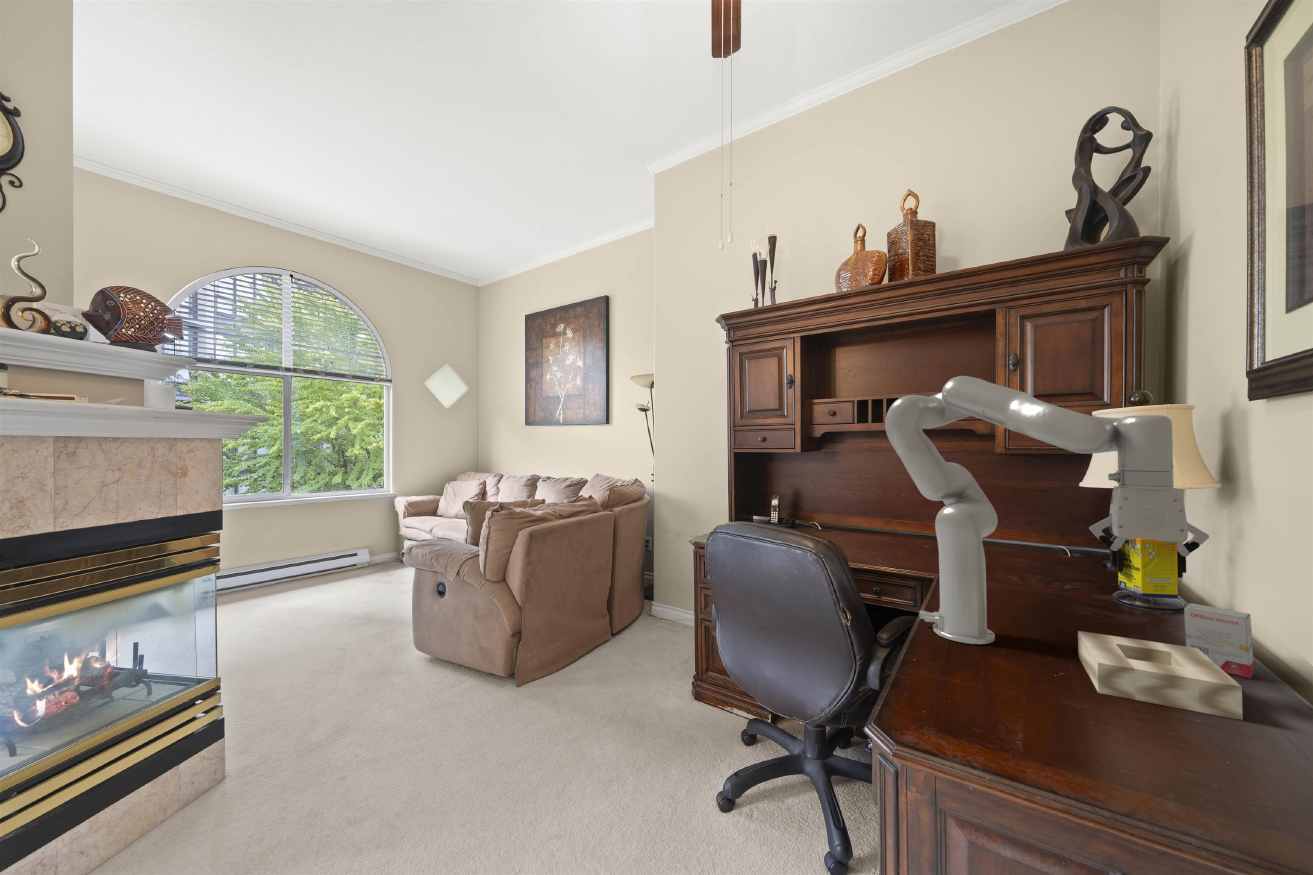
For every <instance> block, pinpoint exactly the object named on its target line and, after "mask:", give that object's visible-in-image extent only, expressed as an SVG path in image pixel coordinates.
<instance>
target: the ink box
mask: <svg viewBox="0 0 1313 875" xmlns="http://www.w3.org/2000/svg"><path fill="white" fill-rule="evenodd" d="M1183 612H1184V613H1183V614H1184V630H1185V646H1186V647H1193V648H1198V649H1199V650H1200V651H1201V652H1202V653H1204V654H1205V655H1206V656H1207V657H1208V658H1209V659H1210V660H1212V661H1213V662H1214V663H1215V664H1216V665H1217V666H1219V667H1220V668H1221V669H1222V670H1223V671H1224V672H1225V673H1227V674H1228V675H1233V676H1237V677H1241V678H1245V679H1252V677H1253V675H1254V655H1253V654H1254V653H1253V651H1254V650H1253V634H1252V633H1253V632H1252V631H1253V630H1252V620H1251V619H1252V618H1251V613H1248V612H1243V611H1242V612H1241V611H1235V610H1231V609H1225V608H1220V607H1216V606H1215V607H1214V606H1209V605H1202V604H1198V603H1189V604H1186V605H1185V606H1184V607H1183Z"/></svg>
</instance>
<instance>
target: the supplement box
mask: <svg viewBox="0 0 1313 875" xmlns="http://www.w3.org/2000/svg"><path fill="white" fill-rule="evenodd" d="M1120 551H1121V552H1122V553H1123V572H1118V574H1117V575H1118V589H1120V590H1124V591H1126V592H1128V593H1131V594H1134V595H1135V596H1136V595H1137V596H1138V597H1140V598H1143V599H1144V598H1146V599H1147V598H1148V599H1171V600H1172V599H1175V600H1176V599H1178V598H1179V586H1178V583H1179V581H1178V580H1179V578H1178V568H1177V543H1164V542H1161V541H1157V540H1156V539H1147V538H1136V539H1135V540H1126V541H1125V542H1124V543H1123V545H1122V546H1121V547H1120Z"/></svg>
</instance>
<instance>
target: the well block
mask: <svg viewBox="0 0 1313 875" xmlns="http://www.w3.org/2000/svg"><path fill="white" fill-rule="evenodd" d="M1077 641H1078V643H1077V644H1078V645H1077V647H1078V648H1077V649H1078V651H1077V652H1078V659H1079V661H1080V662H1081V664H1082V666H1083V667H1084V669H1085V671H1086V673H1087V675H1088V676H1089V678H1090V680H1091V682H1092V683H1093V685H1094V688H1095V689H1096V691H1097V693H1098V694H1102V695H1109V696H1112V697H1113V696H1114V697H1119V698H1123V699H1130V700H1133V701H1134V700H1135V701H1140V702H1143V703H1145V702H1146V703H1149V704H1156V705H1161V706H1167V707H1170V708H1175V709H1176V708H1177V709H1181V710H1187V711H1193V712H1197V713H1201V714H1208V715H1213V716H1218V717H1224V718H1228V719H1233V720H1238V719H1241V720H1240V721H1243V688H1242V686H1241V684H1239V682H1238V681H1236V680H1235V679H1234V678H1232V676H1230V674H1228V673H1225V672H1224V671H1223V670H1222V669H1221V668H1220V667H1219V666H1217V665H1216V664H1215V663H1214V662H1213V661H1212V660H1210V659H1209V658H1208V657H1207V656H1206V655H1205V654H1204V653H1202V652H1201V651H1200V650H1199V649H1198V648H1193V647H1186V645H1179V644H1172V643H1171V644H1170V643H1164V642H1156V641H1152V640H1143V639H1137V638H1129V637H1122V636H1116V635H1110V634H1104V633H1103V634H1102V633H1096V632H1090V631H1089V632H1088V631H1080V630H1078V631H1077Z"/></svg>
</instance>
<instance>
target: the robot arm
mask: <svg viewBox="0 0 1313 875" xmlns="http://www.w3.org/2000/svg"><path fill="white" fill-rule="evenodd" d="M967 417H974V418H976V419H980V420H983V421H986V422H988V423H991V424H994V425H996V426H999V427H1002V428H1006V429H1008V430H1010V431H1012V432H1016V433H1019V434H1022V435H1025V436H1026V437H1029V438H1031V439H1032V438H1033V439H1035V440H1038V441H1040V442H1044V443H1045V444H1049V445H1051V446H1056V447H1058V448H1061V449H1064V450H1066V451H1069V452H1073V453H1077V454H1083V455H1084V454H1101V453H1111V452H1117V470H1116V472H1113V473H1108V474H1107V477H1108V481H1113V482H1116V483H1117V485H1115V486H1113V489H1112V493H1111V498H1110V506H1109V514H1108V517H1106V518H1103V519H1102V520H1100V521H1098V522H1096V523H1094V524H1092V525H1089V527H1088V529H1089V530H1090V532H1091V533H1092V534H1093V535H1094V536H1095V537H1096V538H1097V539H1098V540H1099V541H1100V542H1102V543H1103V544H1104V545H1105V547H1108V549H1109V565H1110V567H1113V569H1114V571H1116V572H1123V553H1122V552H1121V551H1120V547H1121V546H1122V545H1123V543H1124V542H1125V541H1126V540H1135V539H1136V538H1147V539H1156V540H1157V541H1161V542H1164V543H1177V568H1178V579H1180V578H1181V579H1183V576H1184V574H1186V573H1187V557H1189V555H1190V554H1191V553H1192V552H1194V551H1196V550H1197V549H1198V548H1200V546H1201V545H1203V544H1204V543H1205V542H1206V541H1207V540H1208V539H1210V535H1209V534H1208V533H1206V532H1204V531H1203V530H1201V529H1200V528H1197V527H1196V526H1194V525H1193V524H1191V523H1189V522H1188V521H1187V520H1188V519H1187V512H1186V508H1185V502H1184V498H1183V494H1182V491H1181V489H1180V488H1177V487H1176V488H1175V486H1174V449H1173V448H1174V446H1173V443H1174V442H1173V422H1172V419H1170V417H1169V416H1166V415H1160V414H1145V415H1142V414H1141V415H1128V416H1123V417H1104V416H1096V415H1089V414H1086V413H1081V412H1078V411H1074V410H1071V409H1068V408H1064V407H1061V406H1057V405H1055V404H1051V403H1047V402H1046V401H1042V400H1040V399H1038V398H1035V397H1034V396H1033V395H1031V394H1029V393H1027V392H1024V391H1022V390H1018V389H1015V388H1014V389H1013V388H1010V387H1006V386H1003V385H999V384H997V383H992V382H990V381H987V380H985V379H983V378H978V377H972V376H969V375H959V376H956V377H952V378H950V379H949V380H948V381H947V382H946V383H945V384H944V386H942V390H941V392H938V393H935V394H933V395H930V396H927V395H921V394H920V395H918V394H908V395H903V396H901V397H899V398H898V399H896V400H895V401H894V402H893V403H892V404H891V405H890V407H889V409H888V411H887V413H886V416H885V421H884V422H885V423H884V428H885V433H886V436H887V439H888V440H889V443H890V444H891V446H892V447H893V449H894V451H895V452H896V454H897V455H898V457H899V459H900V460H901V462H902V463H903V465H904V467H905V469H906V471H907V473H908V474H909V475H910V477H911V479H912V481H913V483H914V484H915V486H916V487H917V489H918V491H919V492H920V494H921V495H922V496H923V497H924V498H926V499H927V500H930V501H934V502H940V501H942V502H943V504H944V506H943V507H942V508H941V509H940V510H938V512H937V514H936V517H935V521H934V528H935V529H934V530H935V534H936V539H937V548H938V567H939V568H938V573H939V608H938V611H933V612H930V611H925V610H919V619H921V620H924V622H929V623H933V625H932V630H933V632H934V633H935V634H937V635H938V636H940V637H941V638H944V639H947V640H950V641H954V642H958V643H963V644H969V645H987V644H991V643H993V642H995V640H996V635H995V633H994V632H993V631H992V630H991V629H988V628H987V626H988V625H987V620H988V617H987V610H988V609H987V570H986V565H987V564H986V556H985V548H984V545H983V544H984V543H983V538H986V537H987V536H990V535H991V534H993V533H994V532H995V530H996V528H997V526H998V524H999V523H998V515H997V512H996V510H995V508H994V505H993V504H992V503H991V501H990V500H989V499H988V497H987V496H986V495H985V493H984V491H983V490H982V488H981V487H980V486H979V483H977V480H976V479H975V478H974V476H973V475H972V474H971V473H970V472H969V470H968V469H967V468H965V467H964V466H962V465H961V464H959V463H955V462H950V461H946V460H945V459H944V457H943V456H942V455H941V454H940V452H939V451H938V449H937V447H936V445H935V443H933V442H932V440H931V438H929V437H928V436H927V435H926V433H924V431H923V429H935V428H939V427H943V426H945V425H947V424H950V423H953V422H957V421H960V420H962V419H965V418H967ZM1106 528H1108V529H1109V532H1110V533H1111V534H1112V535H1113V536H1112V538H1111V539H1109V538H1108V537H1107V536H1106V535H1105V533H1104V532H1102V531H1103V530H1104V529H1106ZM1189 533H1190V534H1192V538H1191V539H1190V540H1188V538H1189ZM1187 540H1188V541H1187Z"/></svg>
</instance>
